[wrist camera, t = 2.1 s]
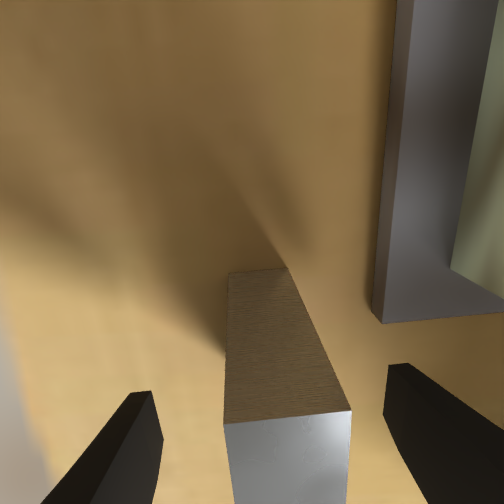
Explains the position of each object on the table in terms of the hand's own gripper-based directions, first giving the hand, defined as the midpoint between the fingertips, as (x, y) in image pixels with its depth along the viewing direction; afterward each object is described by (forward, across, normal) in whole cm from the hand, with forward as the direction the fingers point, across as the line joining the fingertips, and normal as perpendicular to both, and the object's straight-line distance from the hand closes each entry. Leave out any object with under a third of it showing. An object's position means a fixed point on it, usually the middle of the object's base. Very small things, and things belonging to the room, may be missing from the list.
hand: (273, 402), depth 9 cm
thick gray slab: (+4, 0, 0) cm, 4 cm away
